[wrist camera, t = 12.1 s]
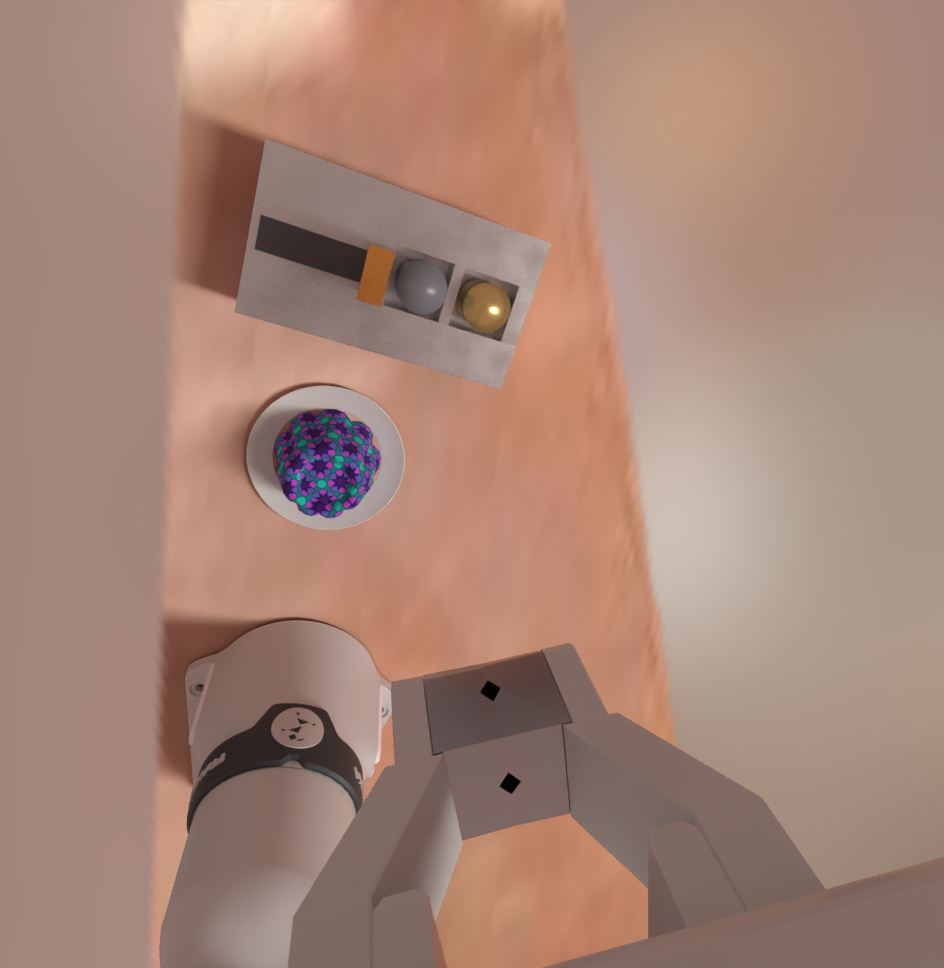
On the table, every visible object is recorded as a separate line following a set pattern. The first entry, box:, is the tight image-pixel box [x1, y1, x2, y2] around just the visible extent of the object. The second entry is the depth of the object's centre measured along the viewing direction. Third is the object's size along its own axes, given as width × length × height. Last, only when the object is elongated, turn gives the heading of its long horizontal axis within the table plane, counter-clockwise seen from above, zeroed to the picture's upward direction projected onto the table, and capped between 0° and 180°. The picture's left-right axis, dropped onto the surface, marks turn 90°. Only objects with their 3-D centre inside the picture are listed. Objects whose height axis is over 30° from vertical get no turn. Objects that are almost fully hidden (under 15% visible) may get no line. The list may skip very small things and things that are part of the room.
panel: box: [235, 138, 551, 389], centre depth 40 cm, size 10×18×5 cm, turn 72°
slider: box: [356, 242, 395, 307], centre depth 35 cm, size 3×1×5 cm, turn 162°
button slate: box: [395, 259, 447, 315], centre depth 37 cm, size 3×3×4 cm
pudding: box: [246, 386, 405, 530], centre depth 44 cm, size 12×12×5 cm
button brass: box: [457, 280, 510, 332], centre depth 40 cm, size 3×3×4 cm
